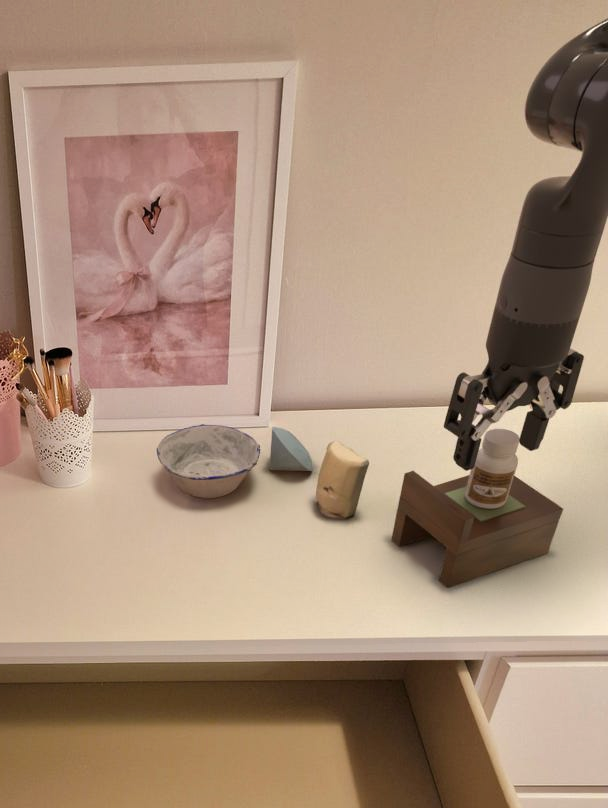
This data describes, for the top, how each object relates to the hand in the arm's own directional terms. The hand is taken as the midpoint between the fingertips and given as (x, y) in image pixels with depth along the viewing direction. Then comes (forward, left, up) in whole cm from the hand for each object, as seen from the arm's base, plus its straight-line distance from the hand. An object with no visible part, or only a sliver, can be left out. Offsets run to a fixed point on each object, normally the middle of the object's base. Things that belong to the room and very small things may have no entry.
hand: (496, 456), depth 92 cm
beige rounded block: (+10, -13, -12) cm, 20 cm away
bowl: (+21, -26, -12) cm, 35 cm away
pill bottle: (0, 0, -6) cm, 6 cm away
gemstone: (+10, -24, -12) cm, 28 cm away
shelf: (+1, 0, -12) cm, 12 cm away
